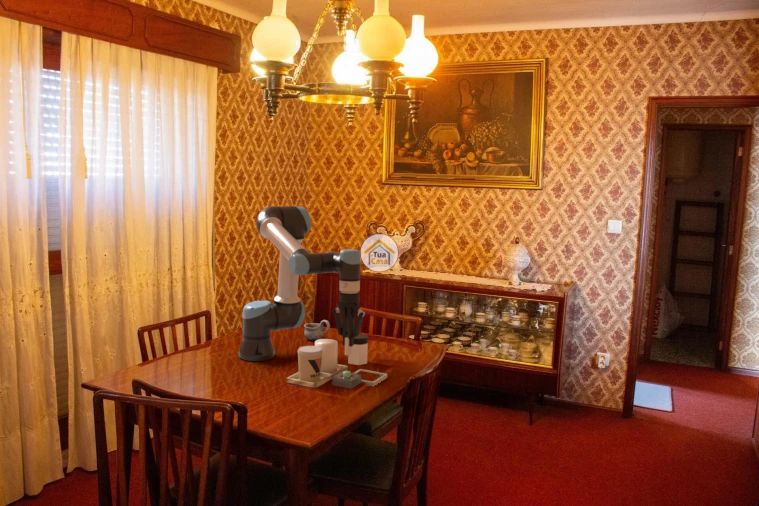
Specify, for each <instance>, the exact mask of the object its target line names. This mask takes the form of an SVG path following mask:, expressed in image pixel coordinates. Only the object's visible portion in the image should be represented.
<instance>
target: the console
mask: <svg viewBox="0 0 759 506" xmlns="http://www.w3.org/2000/svg"><path fill="white" fill-rule="evenodd" d="M361 380H362V374H359V373H357V374H354V372H351V377H350V378H345V377H343V371H342V372H341V373H339V374H337V375H335V376H334V377H332V379H331V385H332V386H334V387H340V388H345V389H350V390H352V389H353V388H355V387H356V386H358V385H359V384H361V383H362V382H361Z"/></svg>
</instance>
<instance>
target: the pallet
mask: <svg viewBox="0 0 759 506" xmlns="http://www.w3.org/2000/svg"><path fill="white" fill-rule="evenodd" d="M342 371H349V366H348V365H345V364H339V363H337V371H335V372H333V373H332V374H329V373H324V372H320V380H319V381H317V382H315V383H313V382H308V381H303V380H299V371H297V372H296V373H294V374H291V375H289V376H287V377H285V385H286V386H291V387H296V388H300V389H305V390H310V391H315V392H316V391H317V388H319V387H320V386H322V385H324V384H325V383H327V382H329V381H330V380H331V381H332V377H334V376H335V375H337V374H339V373H341V372H342ZM302 386H303V387H302ZM307 387H308V388H307Z"/></svg>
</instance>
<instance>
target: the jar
mask: <svg viewBox="0 0 759 506" xmlns="http://www.w3.org/2000/svg"><path fill="white" fill-rule="evenodd" d="M368 341H369V336H368V335H367V334H365V333H364V334H363V333H359V335H358V336H356V337H354V345H353V346H352V354H350V355H347V359H348V360H347V362H348V364H350V365H356V366H361V365H367V364H368V348H369V347H368V346H369V345H368V344H369V343H368Z"/></svg>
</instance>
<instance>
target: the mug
mask: <svg viewBox="0 0 759 506" xmlns="http://www.w3.org/2000/svg"><path fill="white" fill-rule="evenodd" d="M324 323H325V325H326V329H324ZM303 327H304V333H303V335H304V337H305V338H306V339H308V340H310V341H316V340H319V339H323V336H324V335H325V334H324V333H326V332H328V331H329V330H330V327H331V324H330V322H329V320H326V319H323V320H321V321H320V323H316V322H315V323H314V322H312V323H310V322H309V323H305V324H304V325H303Z"/></svg>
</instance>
